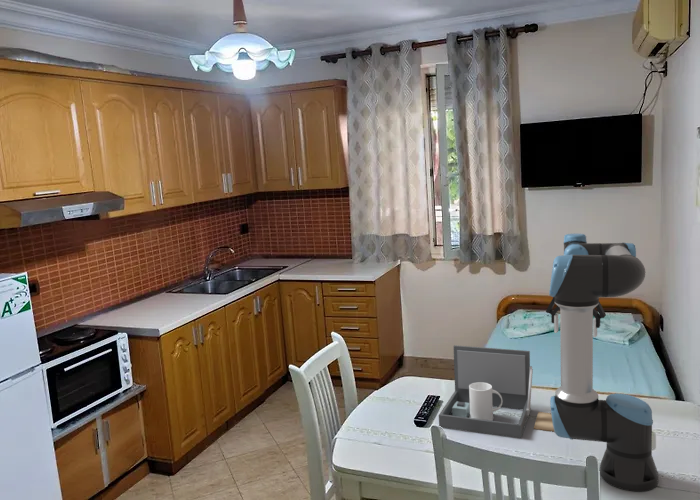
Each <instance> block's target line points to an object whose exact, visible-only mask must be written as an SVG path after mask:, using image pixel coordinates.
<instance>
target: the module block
mask: <svg viewBox="0 0 700 500" xmlns="http://www.w3.org/2000/svg"><path fill="white" fill-rule="evenodd" d="M451 415H452V416H459V417H467V418H469V416H470V403H466V402H458V401H456V403H455V404H454V406H453V407H452V412H451Z"/></svg>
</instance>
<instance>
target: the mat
mask: <svg viewBox="0 0 700 500" xmlns="http://www.w3.org/2000/svg"><path fill="white" fill-rule="evenodd" d="M533 425H534V426H533V430H536V431H543V432H545V431H546V432H551V431H552V433H555V431H554V427H553V422H552V415H551V412H545V411H544V412H543V411H538V412H537V415H536V418H535V422H534V424H533Z"/></svg>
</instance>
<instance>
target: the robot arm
mask: <svg viewBox="0 0 700 500" xmlns="http://www.w3.org/2000/svg"><path fill="white" fill-rule="evenodd" d="M645 277H646V268H645V265H644V263H643V262H642V261H641V260H640V259H639V258H638V257H637V248H636V245H635V243H631V242H630V243H629V242H612V243H611V242H610V243H609V242H608V243H607V242H604V243H603V242H602V243H598V242H595V243H593V242H590V243H588V241H587V236H586V234H585V233H566V234H564V237H563V255H557V256H556V257H554V259H553V263H552V268H551V276H550V278H551V279H550V284H549V293H548V294H549V296H550V297H552V299H551V301H550V303H549V305H548V307H547V309H546V313H547V314H550V315H551V317H550V318H551V324H553V328H554V330H553V331H554V332H553V333H555V334H557V333H558V332H559V325H560V386H559V387H558V388H557V389H556V390H555V395H553V396H550V399H549V401H550V402H549V403H550V405H549V406H550V413H551V415H552V422H553V427H554V431H555V432H554V433H555V435H556V436H557V437H559V438H563V439H569V440H571V441H573V440H579V441H588V442H589V441H590V442H598V443H599V442H601V443H606V449H605V451H604V454H603V457H602V459H601V460H600V461H601V462H600V465H599V476H600V477H601V479H603V481H604V482H606V483H607V484H609V485H611V486H612V487H615V488H618V489H621V490H625V491H631V492H646V491H650V490H654V489H656V487H657V486H658V485H659V472H658V469H657V467H656V464H655V460H654V457H653V455H652V454H653V452H652V451H653V449H652V448H653V425H654V420H653V411H652V407H651V405H649V403H647V402H646V401H645V400H643V399H641V398H639V397H636V396H633V395H629V394H624V393H611V394H608V395H607V396H606V398H605V399H599V394H598V392H596V390H594V388H593V386H594V385H593V382H594V380H593V377H594V375H593V373H594V369H593V368H594V367H593V365H594V362H593V361H594V359H593V358H594V356H593V354H594V353H593V351H594V349H593V348H594V347H593V346H594V341H593V338H596V337H597V336H598V329H599V328H600V327H601V319H604V318H605V317H607V314H606V312H605V310H604V308H603V306H602V304H601V303H600V298H616V297H618V298H619V297H622V296H625V295H628V294H629V293H632V292H633V291H636V290H637V289H638V288H639V287H640V286H641V285H642V284H643V282H644V281H645ZM555 305H556V307H555V308H554V306H555ZM553 308H554V309H553ZM595 308H596V309H595ZM559 310H560V311H559ZM558 312H560V315H559V314H558ZM559 317H560V324H559Z"/></svg>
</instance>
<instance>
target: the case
mask: <svg viewBox="0 0 700 500" xmlns="http://www.w3.org/2000/svg"><path fill="white" fill-rule="evenodd" d="M530 355H531V351H530V350H524V349H523V350H520V349H510V348H509V349H508V348H497V347H496V348H495V347H482V346H470V345H468V346H467V345H455V344H454V345H453V370H454V372H453V373H454V375H453V376H454V392H453V393H452V395H451V396H450V398H449V399H448V401H447V402H446V404H445V405H444V407H443V408H442V409H441V411H440V412H439V414H438V427H439V426H441V427H443V428H442V429H450V430H456V431H464V432H470V433H471V432H472V433H478V434H479V433H480V434H487V435H492V436H501V437H508V438H517V439H522V436H523V434H524V431H525V428H526V425H527V421H528V418H529V415H530V413H531V409H532V408H531V406H532V405H531V403H532V402H531V400H532V387H533V384H532V383H533V370H534V369H533V366H532V365H531V356H530ZM476 382H483V383H488V384H490V385H491V386H492V389H493V390H495V391H497V392H498V393H499V394H500V395H501V397H502V400H503V402H502V406H501V407H500V408H505V409H511V410H512V409H514V410H520V409H523V410H522V412H521V415H520V418H519V421H518V423H514V422H513V423H512V422H507V421H498V420H492V421H491V420H483V419H475V418H469V417H459V416H452V407H453V406H454V404H455V403H456V401H458V402H466V403H470V398H469V385H470V384H472V383H476ZM500 404H501V398H500V396H499V395H498V394H496V393H492V405H493V408H497V407H499V406H500ZM441 427H440V428H441Z"/></svg>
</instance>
